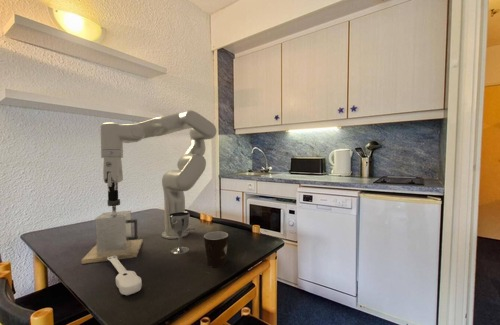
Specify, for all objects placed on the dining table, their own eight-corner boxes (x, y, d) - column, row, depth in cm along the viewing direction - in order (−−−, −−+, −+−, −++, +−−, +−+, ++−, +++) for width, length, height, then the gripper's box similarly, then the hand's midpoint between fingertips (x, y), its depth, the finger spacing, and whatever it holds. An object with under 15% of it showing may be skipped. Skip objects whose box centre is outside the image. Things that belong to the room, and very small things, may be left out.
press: (142, 242, 105) (141, 208, 104) (136, 257, 89) (135, 217, 89) (96, 247, 99) (95, 211, 99) (81, 264, 84) (80, 221, 84)
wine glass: (169, 255, 90) (168, 217, 90) (170, 247, 98) (169, 212, 97) (190, 253, 92) (189, 215, 92) (190, 245, 100) (189, 210, 100)
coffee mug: (217, 255, 89) (216, 229, 89) (233, 262, 84) (233, 234, 84) (192, 267, 80) (191, 238, 80) (208, 275, 75) (208, 244, 75)
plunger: (128, 235, 99) (127, 197, 99) (124, 242, 92) (122, 201, 91) (106, 238, 97) (105, 198, 96) (100, 245, 89) (98, 202, 89)
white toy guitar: (102, 266, 83) (102, 258, 83) (120, 261, 87) (119, 253, 87) (123, 300, 62) (122, 289, 62) (145, 291, 66) (145, 281, 66)
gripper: (118, 153, 87) (119, 202, 88) (126, 154, 102) (127, 196, 102) (95, 154, 85) (96, 204, 85) (107, 154, 99) (107, 197, 100)
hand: (113, 199), depth 94 cm, fingers closed
